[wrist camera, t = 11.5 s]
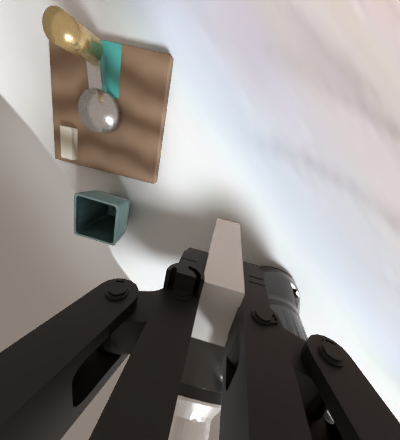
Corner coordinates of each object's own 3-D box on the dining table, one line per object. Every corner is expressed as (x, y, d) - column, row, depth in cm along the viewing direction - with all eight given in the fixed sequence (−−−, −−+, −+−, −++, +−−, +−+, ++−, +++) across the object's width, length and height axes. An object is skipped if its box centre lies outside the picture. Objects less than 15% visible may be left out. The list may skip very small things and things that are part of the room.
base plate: (156, 182, 43) (150, 185, 40) (62, 158, 45) (49, 159, 42) (173, 59, 35) (167, 50, 32) (57, 34, 37) (40, 24, 33)
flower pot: (139, 194, 45) (118, 205, 37) (135, 229, 48) (114, 246, 40) (103, 183, 46) (73, 192, 37) (100, 218, 49) (73, 234, 41)
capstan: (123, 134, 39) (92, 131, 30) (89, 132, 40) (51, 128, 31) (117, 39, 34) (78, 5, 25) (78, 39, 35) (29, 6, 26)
